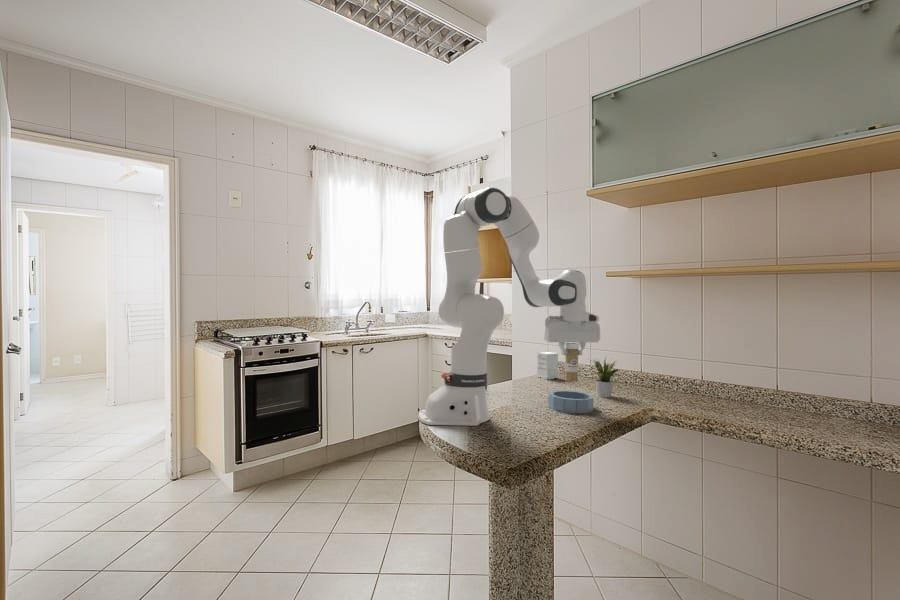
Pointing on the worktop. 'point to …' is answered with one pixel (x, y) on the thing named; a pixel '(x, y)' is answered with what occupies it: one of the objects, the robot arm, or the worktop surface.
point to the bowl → (571, 401)
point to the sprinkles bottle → (571, 362)
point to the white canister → (547, 365)
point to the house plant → (604, 378)
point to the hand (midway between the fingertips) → (571, 355)
